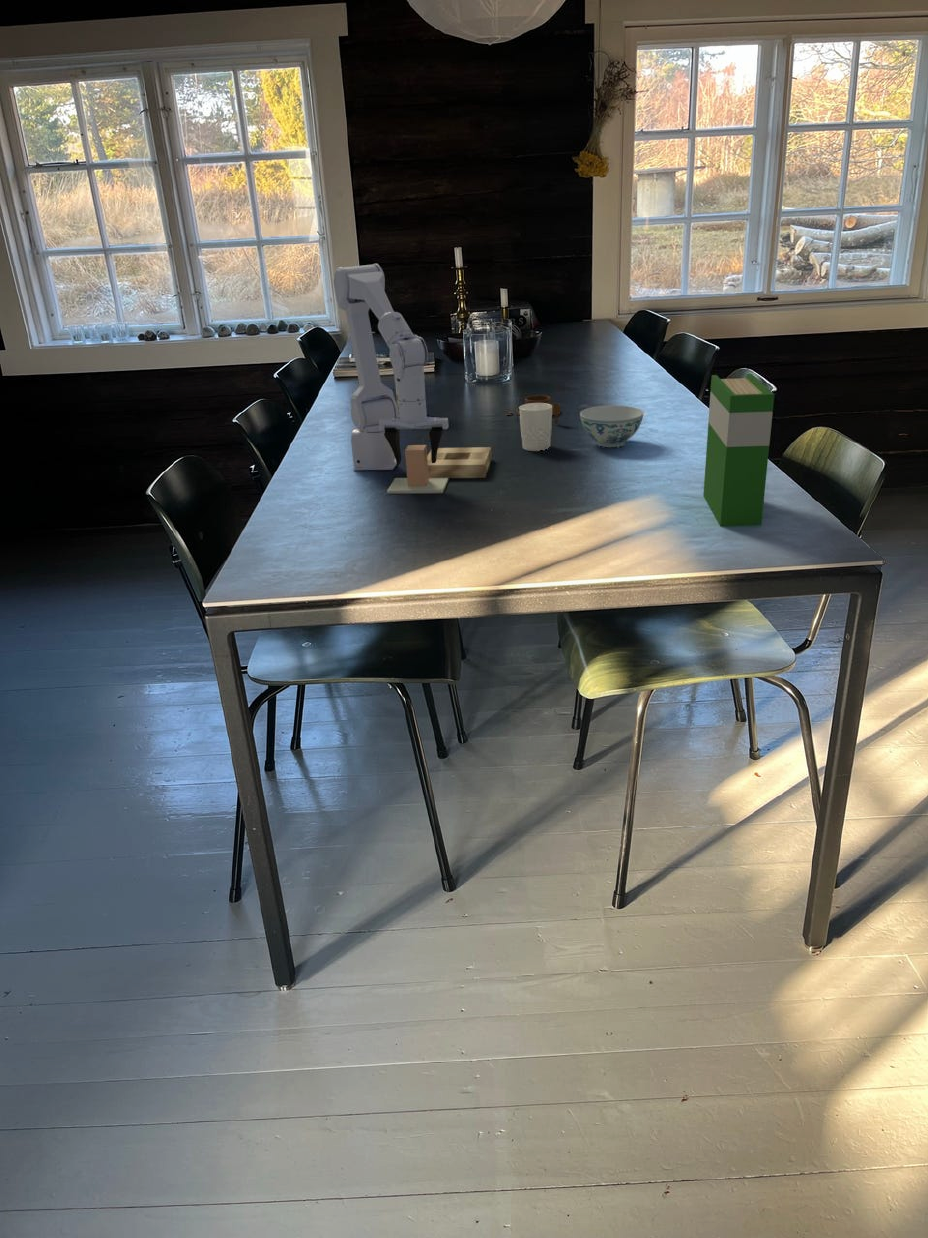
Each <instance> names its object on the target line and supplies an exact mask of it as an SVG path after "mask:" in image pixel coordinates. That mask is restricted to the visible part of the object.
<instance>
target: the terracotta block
mask: <svg viewBox="0 0 928 1238" xmlns="http://www.w3.org/2000/svg"><path fill="white" fill-rule="evenodd" d="M427 446H428V445H427V444H409V445H407V446H406V448H405V450H404V454H405V455H404V456H405V466H406V478H407V482H408V487H412V486H427V484H428V482H429V474H428V459H427V456H428V447H427Z"/></svg>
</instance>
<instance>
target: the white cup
mask: <svg viewBox="0 0 928 1238" xmlns="http://www.w3.org/2000/svg"><path fill="white" fill-rule="evenodd" d="M518 408H519V412H520V416H519V424H520V425H519V426H520V433H521V435H520V436H521V443H522V445H521V446H522V449H523V450H525V451H529V452H541V451H540V450H543V451H546V450H545V449H547V450H549V449H550V448H551V436H552V424H553V423H552V422H553V419H552V418H553V416H552V404H551V403H550V404H546V403H529V404H522V405H520V406H519V407H518ZM549 447H550V448H549ZM548 448H549V449H548Z"/></svg>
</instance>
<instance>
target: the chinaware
mask: <svg viewBox="0 0 928 1238" xmlns="http://www.w3.org/2000/svg"><path fill="white" fill-rule="evenodd" d="M644 414H645V412H644V410H642V409H641V408H638V407H635V406H628V405H598V406H593V407H588V408H585V409H583V410H581V411H580V412H579V416H580V417H579V418H580V421H581V425H582V426H583V429H584V430H585V432H586V433H587V435H588V436H589V437H590V438H591V439H592V440H594V441H596V445H597V444H598V445H599V446H598V445H597V446H598V447H600V446H604V447H617V448H619V447H618V446H622V445H624V444H625V445H626V442H627V441H628V440H630V439H631V438H632V437H633V436H634V435H635V434H636V433H637V432H638V430H639V428H640V426H641V424H642V422H643V420H644V419H643V418H644ZM625 445H624V446H625ZM604 447H603V448H604ZM622 447H623V446H622Z"/></svg>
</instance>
